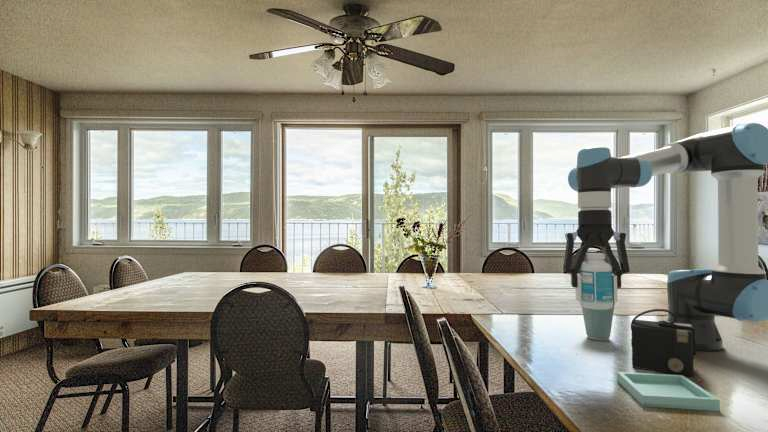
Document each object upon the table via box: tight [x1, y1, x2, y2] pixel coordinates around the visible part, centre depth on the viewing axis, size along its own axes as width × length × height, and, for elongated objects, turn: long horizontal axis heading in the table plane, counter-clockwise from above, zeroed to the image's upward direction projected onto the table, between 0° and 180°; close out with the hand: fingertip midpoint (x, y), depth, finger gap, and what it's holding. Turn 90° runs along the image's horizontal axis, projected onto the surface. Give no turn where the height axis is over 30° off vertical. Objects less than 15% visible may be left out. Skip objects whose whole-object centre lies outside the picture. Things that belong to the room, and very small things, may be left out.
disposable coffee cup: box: [581, 302, 616, 341], centre depth 138 cm, size 11×11×15 cm
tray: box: [616, 371, 721, 412], centre depth 91 cm, size 14×14×2 cm
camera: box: [630, 308, 697, 377], centre depth 109 cm, size 11×14×15 cm
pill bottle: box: [578, 252, 613, 310], centre depth 105 cm, size 8×7×14 cm
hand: (596, 300), depth 105 cm, fingers closed on pill bottle, 7 cm apart
